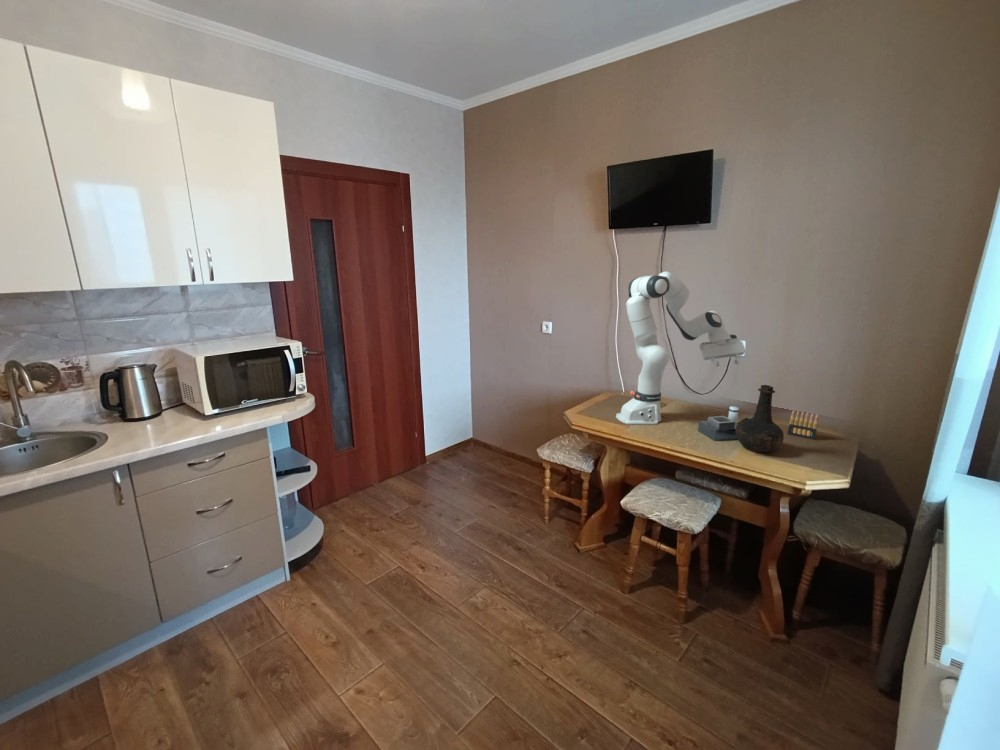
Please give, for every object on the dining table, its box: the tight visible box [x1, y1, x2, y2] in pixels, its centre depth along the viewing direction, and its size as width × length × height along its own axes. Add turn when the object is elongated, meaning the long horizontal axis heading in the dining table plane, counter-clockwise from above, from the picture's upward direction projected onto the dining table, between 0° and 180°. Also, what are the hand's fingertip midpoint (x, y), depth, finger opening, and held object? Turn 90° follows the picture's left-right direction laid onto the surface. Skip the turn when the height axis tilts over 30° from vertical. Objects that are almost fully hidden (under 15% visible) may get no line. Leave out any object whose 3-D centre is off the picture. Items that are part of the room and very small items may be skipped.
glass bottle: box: [735, 384, 785, 453], centre depth 184 cm, size 18×18×28 cm
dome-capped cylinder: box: [727, 405, 740, 425], centre depth 213 cm, size 4×4×9 cm
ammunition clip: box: [786, 409, 819, 441], centre depth 198 cm, size 11×2×12 cm, turn 49°
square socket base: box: [697, 415, 738, 442], centre depth 201 cm, size 14×12×8 cm
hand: (727, 364), depth 219 cm, fingers open, 8 cm apart
